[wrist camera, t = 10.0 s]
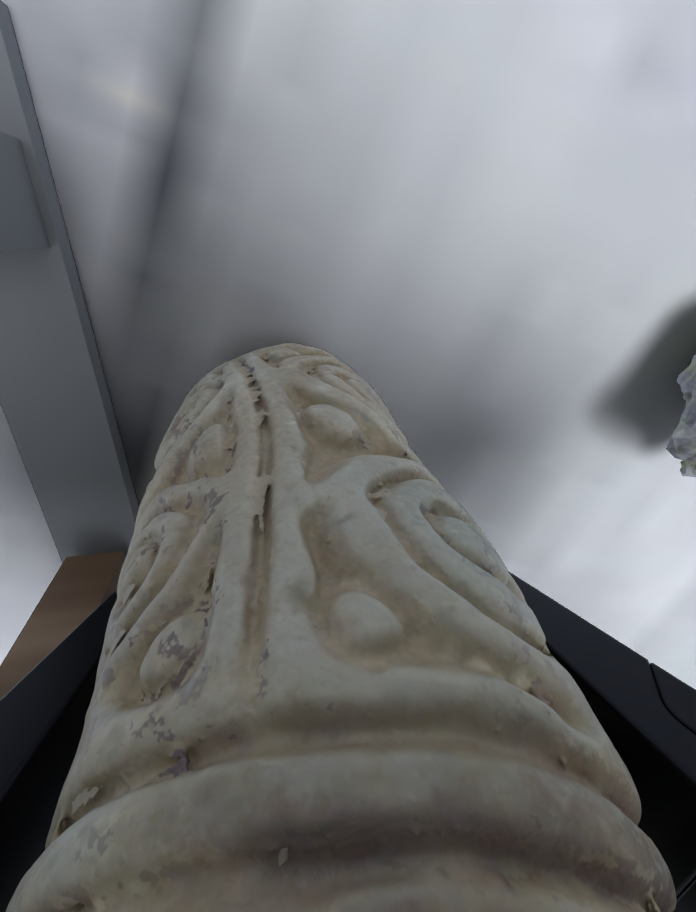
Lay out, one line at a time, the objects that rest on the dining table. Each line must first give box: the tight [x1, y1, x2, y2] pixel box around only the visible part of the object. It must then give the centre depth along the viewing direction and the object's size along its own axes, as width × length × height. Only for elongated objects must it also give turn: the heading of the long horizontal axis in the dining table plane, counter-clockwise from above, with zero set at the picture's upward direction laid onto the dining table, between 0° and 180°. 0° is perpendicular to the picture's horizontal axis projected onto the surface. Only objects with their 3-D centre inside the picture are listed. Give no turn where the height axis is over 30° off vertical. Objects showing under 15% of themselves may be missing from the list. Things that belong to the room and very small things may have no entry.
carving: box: [6, 343, 676, 912], centre depth 8 cm, size 6×8×12 cm
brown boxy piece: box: [0, 551, 125, 700], centre depth 14 cm, size 12×7×5 cm, turn 0°
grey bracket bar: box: [0, 0, 139, 563], centre depth 12 cm, size 30×2×6 cm, turn 0°
